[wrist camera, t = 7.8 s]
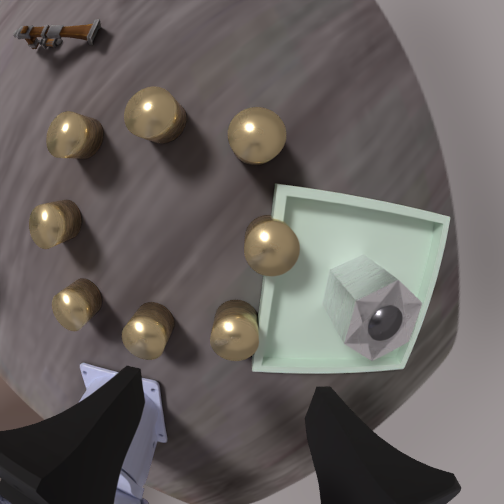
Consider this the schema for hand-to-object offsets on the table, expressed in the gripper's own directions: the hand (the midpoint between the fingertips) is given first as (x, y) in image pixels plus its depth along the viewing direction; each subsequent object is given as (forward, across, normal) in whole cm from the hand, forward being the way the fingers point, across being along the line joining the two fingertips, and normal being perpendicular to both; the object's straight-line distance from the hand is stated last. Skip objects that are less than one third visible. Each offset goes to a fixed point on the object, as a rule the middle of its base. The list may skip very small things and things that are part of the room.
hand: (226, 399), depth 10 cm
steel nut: (+9, -8, -2) cm, 12 cm away
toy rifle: (+10, +16, -20) cm, 27 cm away
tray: (+9, -8, -2) cm, 12 cm away
